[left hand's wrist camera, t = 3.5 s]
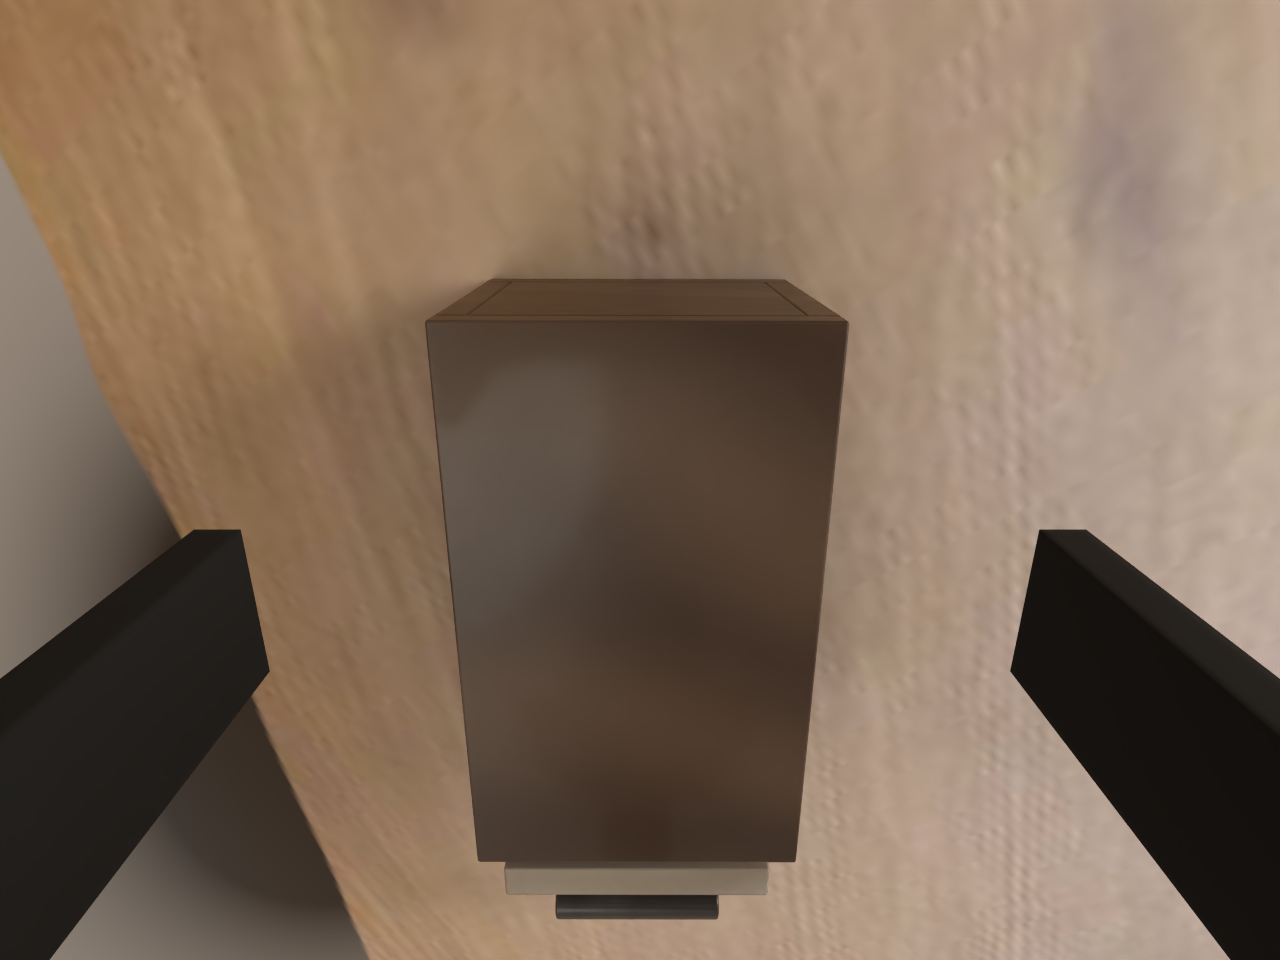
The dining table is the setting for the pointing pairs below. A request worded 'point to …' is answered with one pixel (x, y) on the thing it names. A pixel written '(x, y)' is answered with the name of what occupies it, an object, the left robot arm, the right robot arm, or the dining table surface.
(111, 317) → the dining table surface
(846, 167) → the dining table surface
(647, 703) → the cabinet
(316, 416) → the dining table surface
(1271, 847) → the left robot arm
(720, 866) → the drawer
